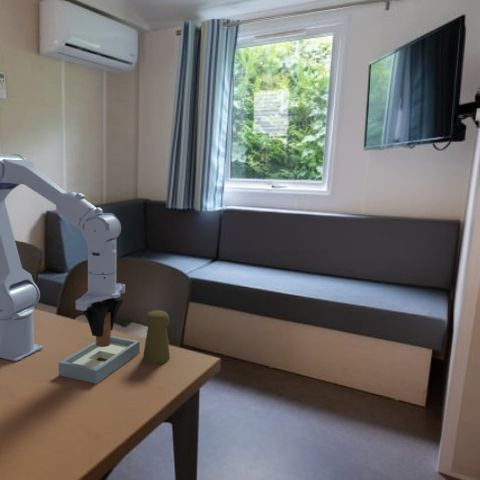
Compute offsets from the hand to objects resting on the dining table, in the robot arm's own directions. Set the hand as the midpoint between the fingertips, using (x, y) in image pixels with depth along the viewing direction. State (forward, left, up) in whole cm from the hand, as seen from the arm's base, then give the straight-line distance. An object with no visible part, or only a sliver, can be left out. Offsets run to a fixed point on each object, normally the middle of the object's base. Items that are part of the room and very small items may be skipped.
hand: (102, 332), depth 90 cm
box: (0, 0, -7) cm, 7 cm away
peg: (0, 0, -3) cm, 3 cm away
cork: (+9, +7, -7) cm, 14 cm away
